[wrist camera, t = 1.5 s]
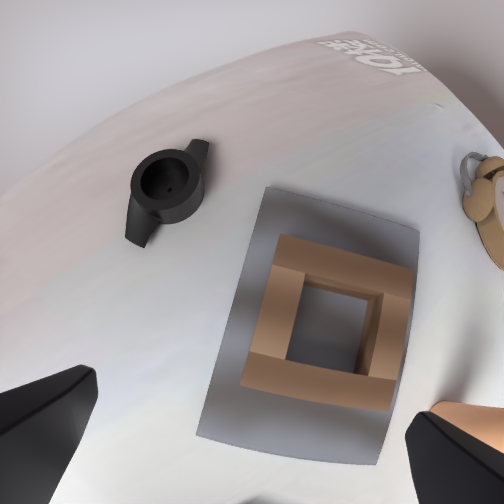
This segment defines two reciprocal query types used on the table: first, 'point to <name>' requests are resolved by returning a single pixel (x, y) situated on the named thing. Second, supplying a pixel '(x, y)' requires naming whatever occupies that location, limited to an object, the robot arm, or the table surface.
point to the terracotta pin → (475, 421)
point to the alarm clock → (486, 202)
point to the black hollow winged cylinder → (165, 190)
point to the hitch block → (315, 334)
